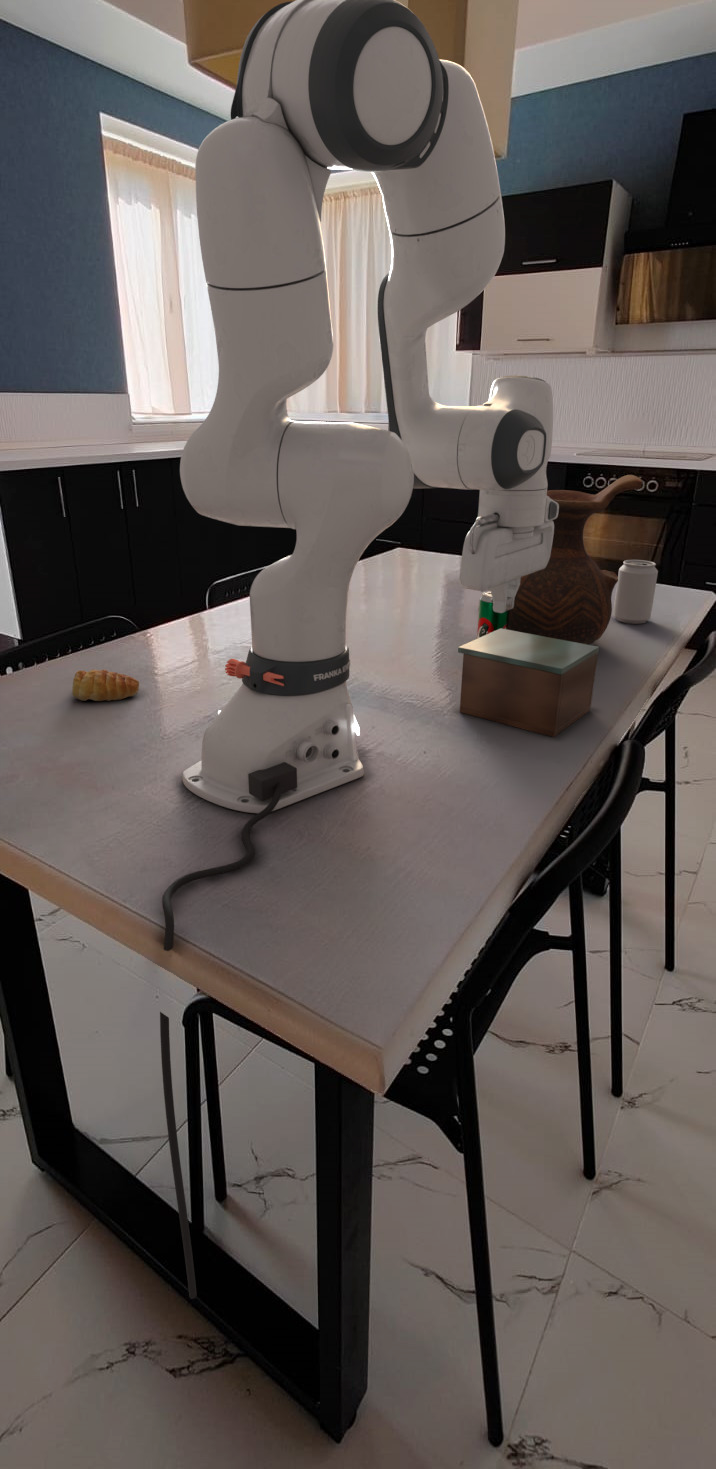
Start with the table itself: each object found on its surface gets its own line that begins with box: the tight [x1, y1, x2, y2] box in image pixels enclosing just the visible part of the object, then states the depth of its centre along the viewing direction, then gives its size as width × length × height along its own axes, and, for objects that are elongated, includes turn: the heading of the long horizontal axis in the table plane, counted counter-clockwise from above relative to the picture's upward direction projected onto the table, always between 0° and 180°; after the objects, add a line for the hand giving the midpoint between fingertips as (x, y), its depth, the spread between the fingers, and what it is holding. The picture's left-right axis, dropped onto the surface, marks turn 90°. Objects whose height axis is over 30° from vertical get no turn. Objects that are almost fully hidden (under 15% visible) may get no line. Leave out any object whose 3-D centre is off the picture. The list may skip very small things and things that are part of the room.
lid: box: [457, 628, 600, 675], centre depth 108 cm, size 16×13×1 cm
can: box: [612, 559, 659, 625], centre depth 157 cm, size 8×8×12 cm
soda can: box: [476, 591, 510, 639], centre depth 130 cm, size 5×5×12 cm
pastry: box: [71, 669, 140, 702], centre depth 115 cm, size 9×7×4 cm
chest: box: [459, 652, 599, 738], centre depth 110 cm, size 15×13×9 cm
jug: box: [508, 474, 643, 645], centre depth 137 cm, size 22×22×30 cm
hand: (503, 610), depth 109 cm, fingers closed
